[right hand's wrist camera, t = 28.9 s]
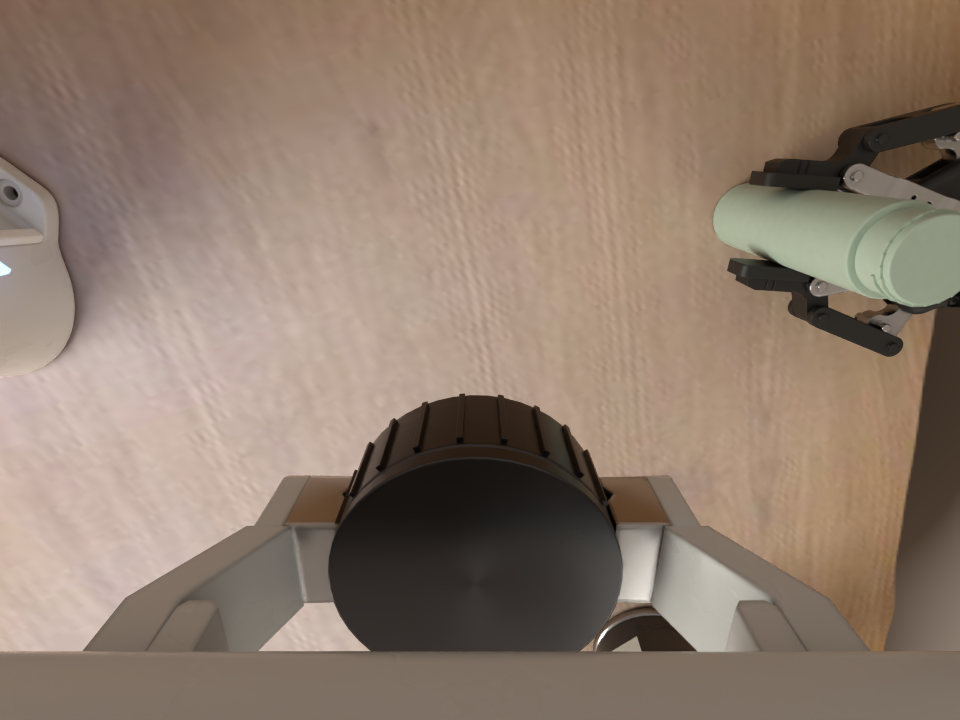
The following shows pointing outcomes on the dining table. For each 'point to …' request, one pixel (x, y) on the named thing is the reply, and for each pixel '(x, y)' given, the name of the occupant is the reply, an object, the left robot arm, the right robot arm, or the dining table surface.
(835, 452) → the dining table surface
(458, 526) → the lid
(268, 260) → the dining table surface
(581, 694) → the right robot arm
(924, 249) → the green bottle
